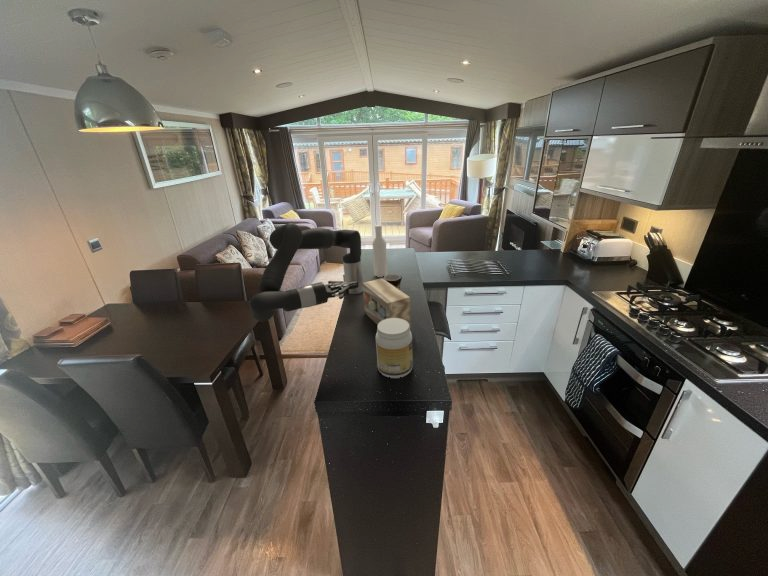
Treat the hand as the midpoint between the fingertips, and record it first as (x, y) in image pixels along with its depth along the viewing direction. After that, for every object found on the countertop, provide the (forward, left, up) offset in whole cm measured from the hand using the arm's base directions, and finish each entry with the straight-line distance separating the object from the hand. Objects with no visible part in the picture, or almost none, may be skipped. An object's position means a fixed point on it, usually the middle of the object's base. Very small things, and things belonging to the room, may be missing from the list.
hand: (357, 284), depth 115 cm
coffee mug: (-9, +41, -24) cm, 49 cm away
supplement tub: (+21, -10, -24) cm, 33 cm away
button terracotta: (-8, +16, -17) cm, 25 cm away
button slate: (+5, +9, -17) cm, 20 cm away
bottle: (-31, +61, -24) cm, 73 cm away
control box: (+1, +16, -24) cm, 29 cm away
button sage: (-2, +11, -17) cm, 20 cm away
